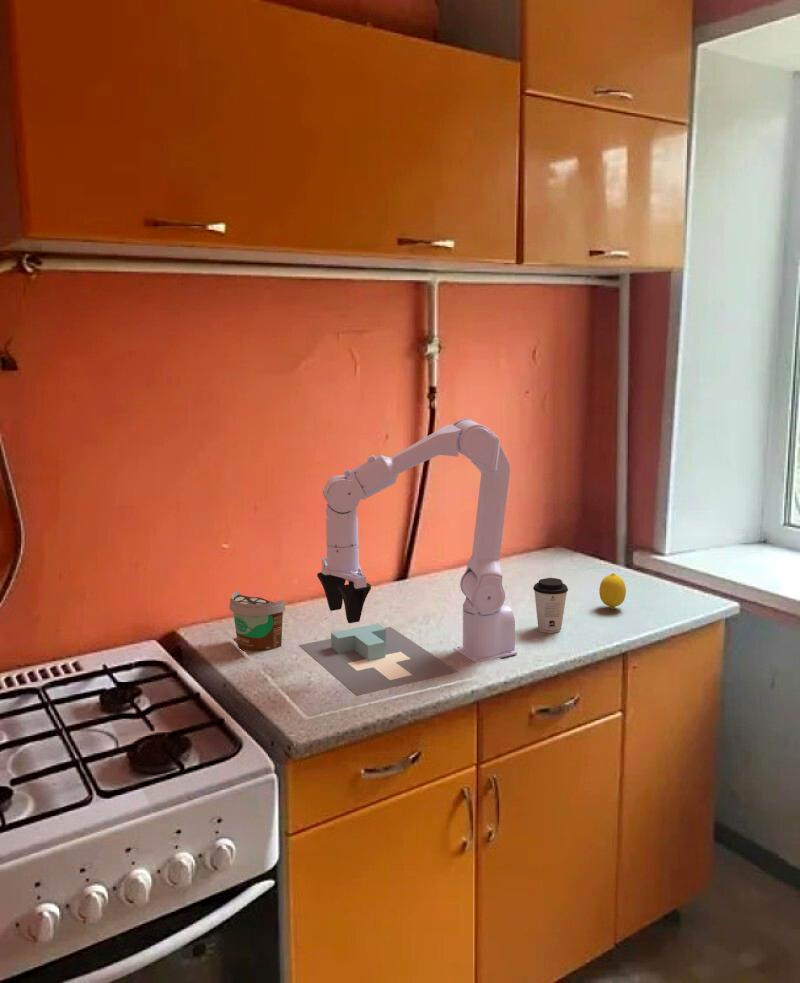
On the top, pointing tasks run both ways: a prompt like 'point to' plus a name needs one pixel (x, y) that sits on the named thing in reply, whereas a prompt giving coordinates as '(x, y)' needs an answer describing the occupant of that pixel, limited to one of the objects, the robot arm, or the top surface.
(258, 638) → the food container
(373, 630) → the t block
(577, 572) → the top surface
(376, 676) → the mat
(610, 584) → the lemon
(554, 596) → the coffee cup
